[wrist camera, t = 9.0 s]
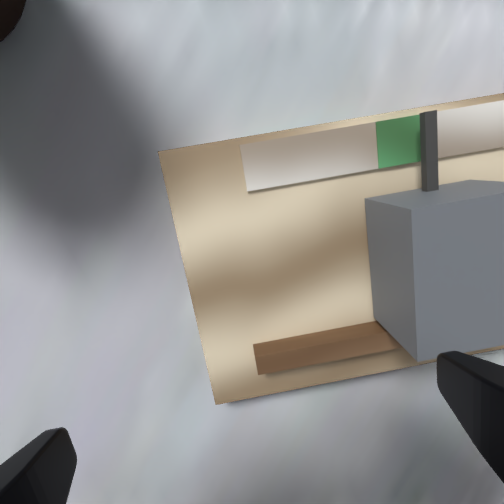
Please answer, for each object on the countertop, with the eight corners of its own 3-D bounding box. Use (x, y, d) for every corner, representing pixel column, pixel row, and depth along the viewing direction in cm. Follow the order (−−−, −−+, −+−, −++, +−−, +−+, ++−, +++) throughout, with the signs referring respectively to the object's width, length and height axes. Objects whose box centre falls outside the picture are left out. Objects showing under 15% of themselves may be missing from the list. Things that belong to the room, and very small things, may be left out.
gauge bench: (630, 306, 20) (856, 385, 13) (216, 386, 19) (211, 519, 12) (663, 68, 17) (994, -5, 10) (163, 152, 16) (113, 142, 9)
